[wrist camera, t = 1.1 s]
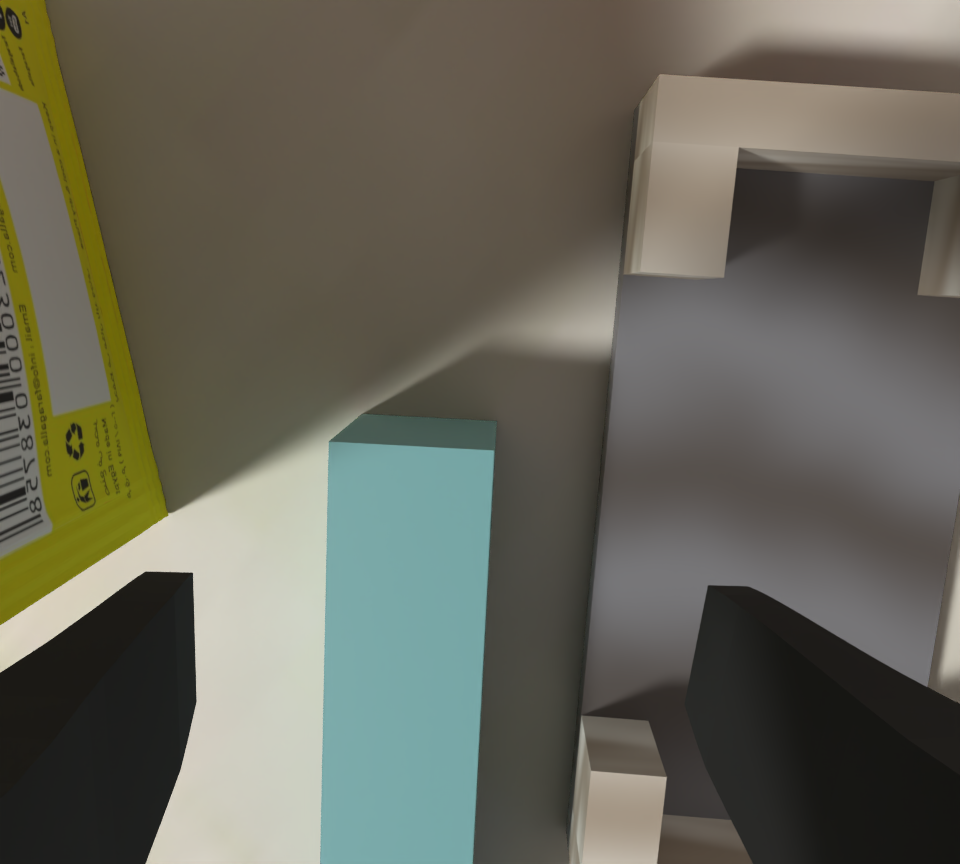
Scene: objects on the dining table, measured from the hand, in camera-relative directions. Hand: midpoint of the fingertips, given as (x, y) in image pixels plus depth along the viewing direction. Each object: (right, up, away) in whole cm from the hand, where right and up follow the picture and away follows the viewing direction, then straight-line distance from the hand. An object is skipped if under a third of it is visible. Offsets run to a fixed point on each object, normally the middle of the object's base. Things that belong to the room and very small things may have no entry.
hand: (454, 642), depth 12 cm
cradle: (+9, +1, +13) cm, 16 cm away
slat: (-2, -5, +15) cm, 16 cm away
